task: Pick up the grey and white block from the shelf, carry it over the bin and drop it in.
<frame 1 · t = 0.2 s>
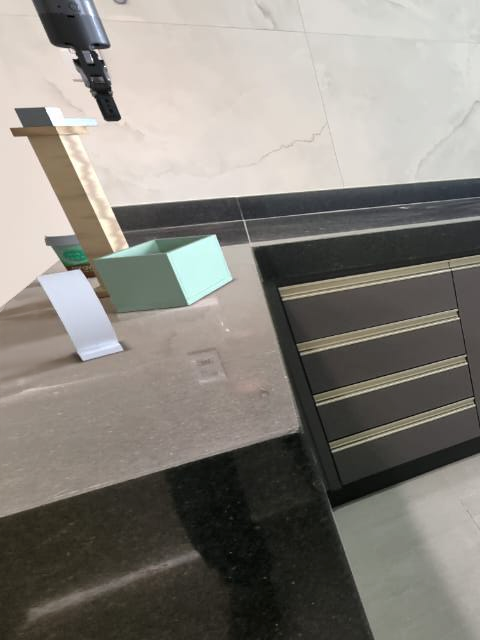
hand: (113, 120, 95), 32 cm above the counter, tool pointing down, fingers open, 8 cm apart
grey and white block: (56, 126, 101), point 32 cm above the counter, touching shelf
bin: (180, 294, 107), on the counter
food container: (95, 276, 126), on the counter
white curved stand: (101, 353, 80), on the counter
shelf: (131, 286, 115), on the counter
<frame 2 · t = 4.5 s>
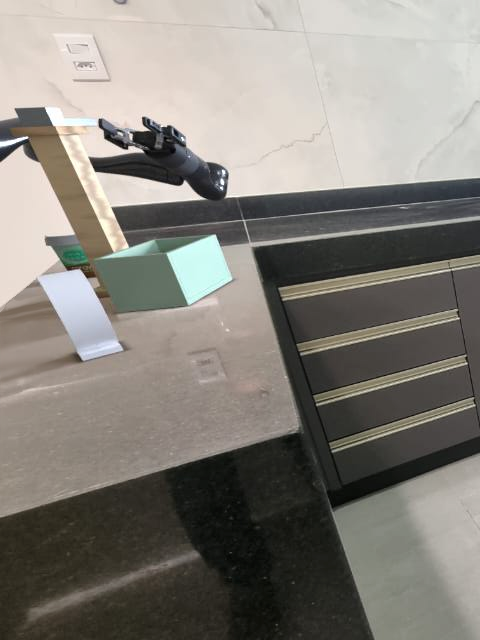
hand: (122, 121, 119), 33 cm above the counter, tool pointing upward, fingers open, 8 cm apart
nothing on the counter moved.
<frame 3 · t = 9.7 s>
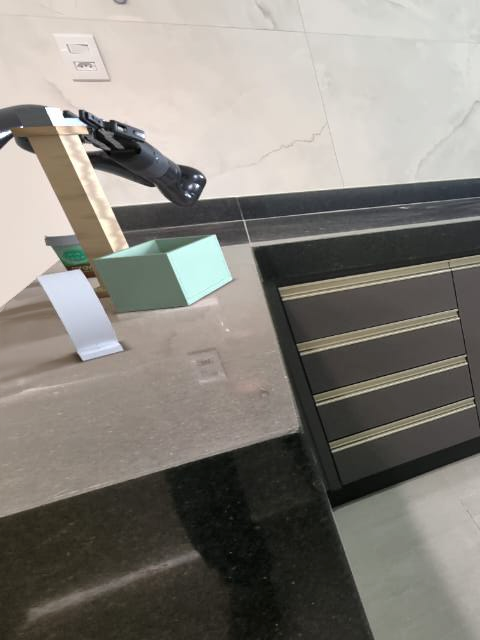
hand: (73, 114, 106), 34 cm above the counter, tool pointing upward, fingers closed on grey and white block, 2 cm apart
grey and white block: (56, 126, 101), point 32 cm above the counter, touching gripper, shelf
everything else where it was.
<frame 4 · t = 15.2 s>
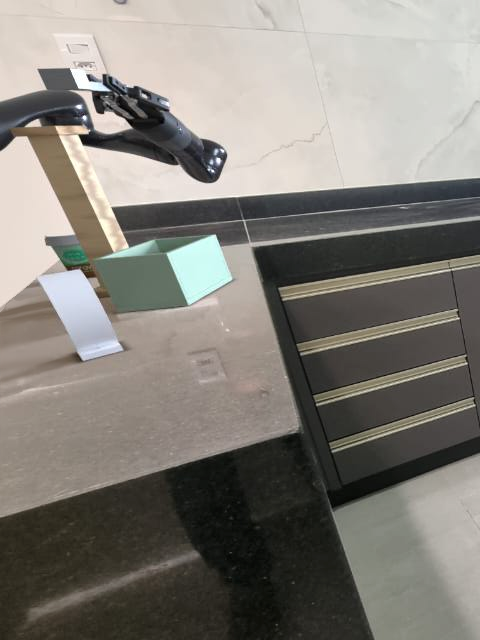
hand: (96, 78, 100), 40 cm above the counter, tool pointing upward, fingers closed on grey and white block
grey and white block: (80, 90, 96), point 38 cm above the counter, touching gripper
everything else where it was.
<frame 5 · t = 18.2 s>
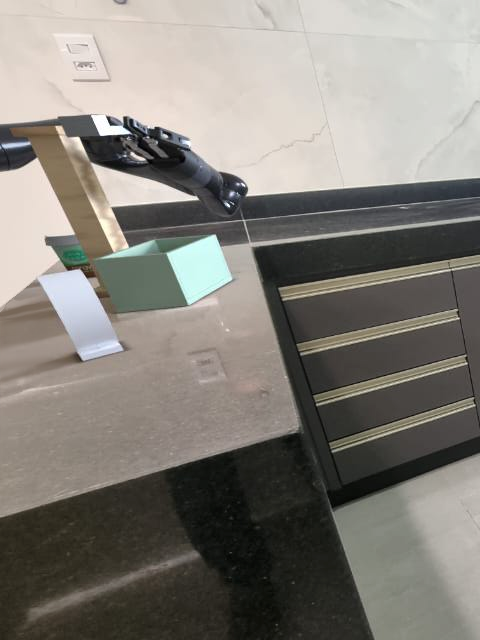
hand: (117, 121, 96), 32 cm above the counter, tool pointing upward, fingers closed on grey and white block, 2 cm apart
grey and white block: (101, 135, 92), point 30 cm above the counter, touching gripper
everything else where it was.
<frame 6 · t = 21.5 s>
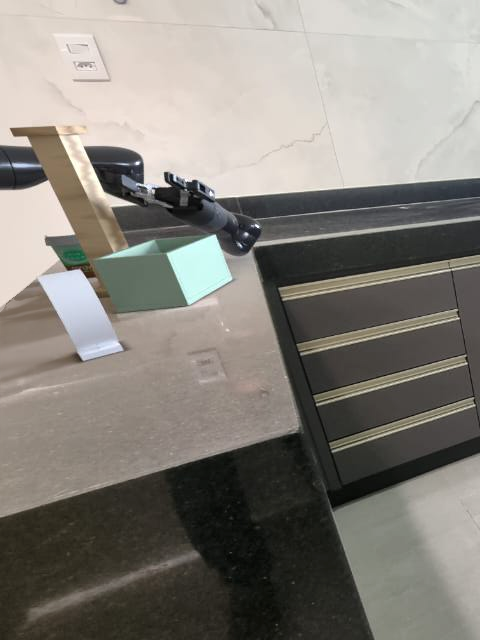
hand: (143, 177, 101), 22 cm above the counter, tool pointing upward, fingers open, 7 cm apart
grey and white block: (170, 293, 105), point 1 cm above the counter, touching bin
everything else where it was.
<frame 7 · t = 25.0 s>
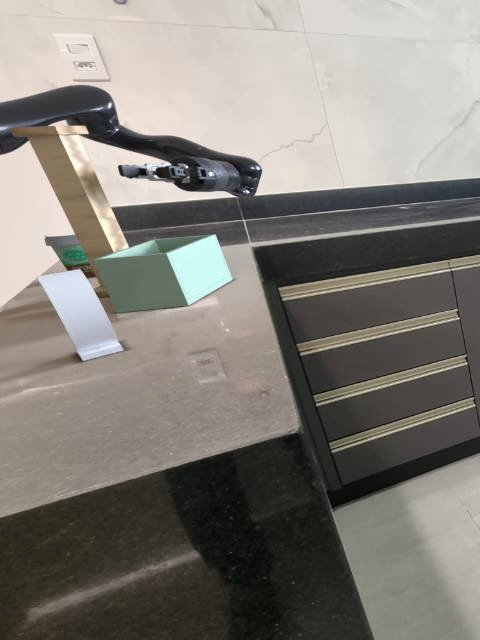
hand: (144, 171, 105), 23 cm above the counter, tool horizontal, fingers open, 8 cm apart
nothing on the counter moved.
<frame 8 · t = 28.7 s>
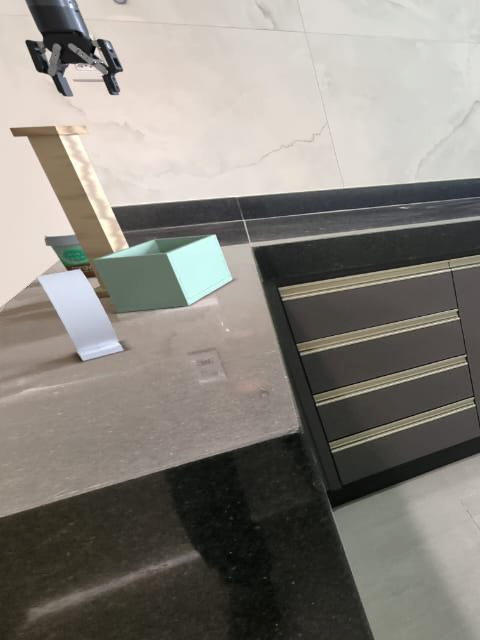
hand: (91, 95, 114), 38 cm above the counter, tool pointing down, fingers open, 8 cm apart
nothing on the counter moved.
at the end: grey and white block inside the target area in the bin (2.6 cm from its centre), point 1.0 cm above the bin's base; the gripper is holding nothing; grey and white block touching bin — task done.
